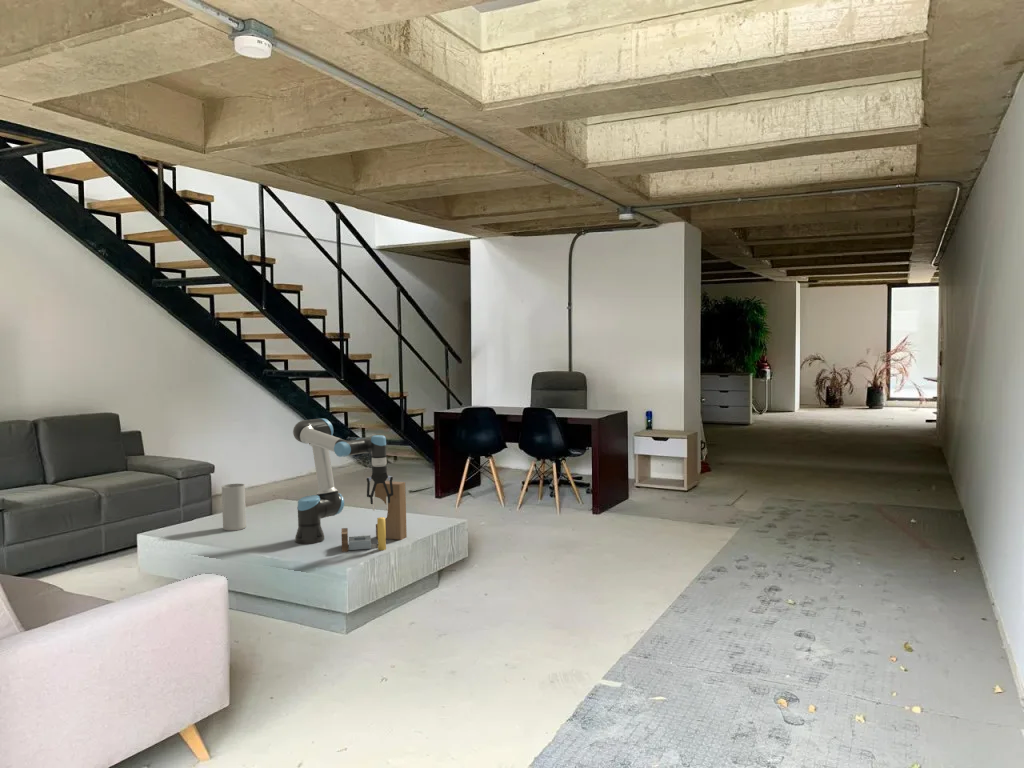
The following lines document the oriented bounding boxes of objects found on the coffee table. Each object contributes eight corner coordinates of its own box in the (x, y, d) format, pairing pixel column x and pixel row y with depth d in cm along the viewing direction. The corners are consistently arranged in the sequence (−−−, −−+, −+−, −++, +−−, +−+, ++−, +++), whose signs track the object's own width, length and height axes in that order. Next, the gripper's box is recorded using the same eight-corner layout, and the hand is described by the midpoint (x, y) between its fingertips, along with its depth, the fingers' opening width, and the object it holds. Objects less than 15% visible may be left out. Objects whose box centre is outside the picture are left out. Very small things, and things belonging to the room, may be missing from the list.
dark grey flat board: (348, 546, 397) (348, 545, 397) (384, 543, 401) (384, 543, 401) (348, 550, 389) (348, 549, 389) (385, 547, 393) (385, 547, 393)
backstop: (342, 545, 398) (341, 528, 398) (348, 545, 399) (347, 527, 399) (341, 551, 386) (341, 534, 385) (348, 551, 386) (347, 533, 386)
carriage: (349, 544, 398) (348, 536, 398) (370, 543, 401) (370, 535, 400) (349, 550, 387) (348, 542, 387) (371, 548, 390) (370, 540, 390)
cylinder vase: (250, 527, 443) (249, 484, 441) (232, 532, 432) (230, 488, 431) (237, 525, 450) (235, 482, 448) (218, 529, 439) (216, 486, 438)
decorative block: (407, 536, 414) (405, 481, 413) (400, 540, 407) (399, 484, 406) (382, 534, 419) (381, 480, 418) (375, 538, 412) (374, 483, 411)
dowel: (377, 548, 391) (377, 517, 390) (385, 547, 392) (385, 517, 391) (378, 550, 387) (377, 519, 386) (386, 549, 388) (385, 518, 387)
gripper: (360, 467, 389) (361, 512, 390) (398, 465, 393) (399, 510, 394) (360, 465, 396) (361, 509, 397) (397, 463, 400) (398, 507, 401)
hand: (380, 509), depth 395 cm, fingers open, 6 cm apart
